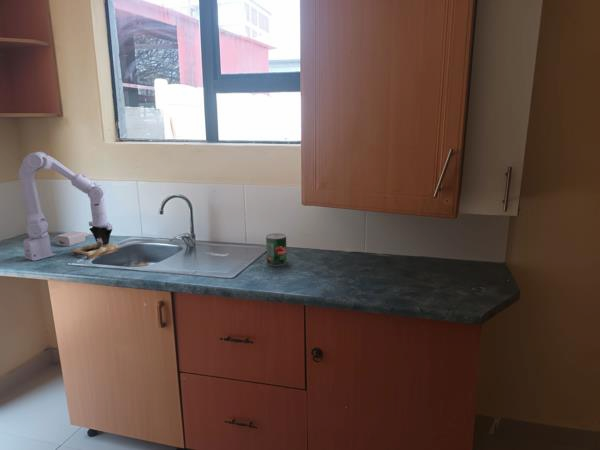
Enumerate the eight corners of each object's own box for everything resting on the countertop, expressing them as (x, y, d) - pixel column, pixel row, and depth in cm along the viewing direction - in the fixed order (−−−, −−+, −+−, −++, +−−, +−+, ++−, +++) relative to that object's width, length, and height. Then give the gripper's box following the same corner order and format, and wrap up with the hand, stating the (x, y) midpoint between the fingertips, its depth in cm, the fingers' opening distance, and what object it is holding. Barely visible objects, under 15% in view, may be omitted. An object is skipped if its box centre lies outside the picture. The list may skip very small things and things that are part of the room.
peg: (102, 253, 192) (100, 239, 191) (95, 251, 195) (93, 238, 193) (112, 250, 196) (111, 237, 195) (105, 248, 199) (104, 235, 198)
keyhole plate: (88, 259, 184) (88, 253, 183) (72, 254, 190) (72, 249, 190) (118, 250, 195) (118, 245, 194) (102, 247, 201) (102, 241, 201)
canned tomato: (284, 266, 170) (283, 238, 167) (264, 265, 171) (263, 238, 169) (288, 260, 177) (288, 233, 175) (269, 259, 179) (269, 233, 176)
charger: (96, 238, 217) (69, 247, 203) (82, 237, 220) (55, 245, 207) (95, 229, 216) (68, 237, 202) (81, 228, 219) (54, 235, 206)
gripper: (117, 213, 191) (120, 243, 194) (97, 210, 199) (101, 239, 202) (102, 216, 185) (106, 247, 188) (82, 212, 193) (86, 242, 196)
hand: (102, 243), depth 195 cm, fingers closed on peg, 4 cm apart
